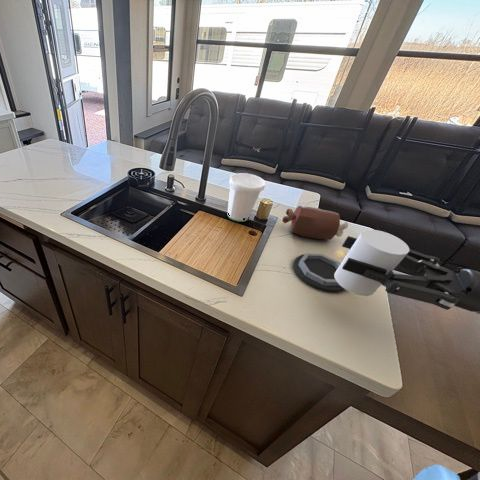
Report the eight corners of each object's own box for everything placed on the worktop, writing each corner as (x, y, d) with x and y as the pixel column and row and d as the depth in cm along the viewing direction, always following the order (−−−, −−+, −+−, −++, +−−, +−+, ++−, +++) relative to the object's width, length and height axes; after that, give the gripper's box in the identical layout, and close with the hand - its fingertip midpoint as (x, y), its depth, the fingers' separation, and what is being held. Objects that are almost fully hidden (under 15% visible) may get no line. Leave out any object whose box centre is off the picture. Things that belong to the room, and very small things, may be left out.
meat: (335, 232, 94) (349, 208, 88) (341, 250, 86) (357, 226, 79) (278, 220, 99) (288, 196, 93) (278, 236, 91) (289, 212, 84)
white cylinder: (383, 296, 55) (420, 255, 48) (346, 295, 55) (377, 253, 48) (360, 270, 62) (390, 230, 54) (327, 268, 62) (352, 228, 54)
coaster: (359, 293, 71) (364, 286, 69) (306, 292, 70) (310, 285, 69) (330, 257, 83) (334, 250, 81) (285, 256, 82) (288, 249, 80)
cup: (216, 217, 99) (224, 181, 89) (229, 204, 107) (237, 170, 98) (247, 228, 93) (259, 191, 84) (258, 214, 102) (269, 179, 92)
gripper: (489, 350, 43) (336, 294, 51) (451, 274, 57) (337, 240, 66) (531, 324, 38) (356, 267, 46) (478, 248, 52) (352, 215, 61)
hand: (345, 251), depth 56 cm, fingers closed on white cylinder, 8 cm apart
